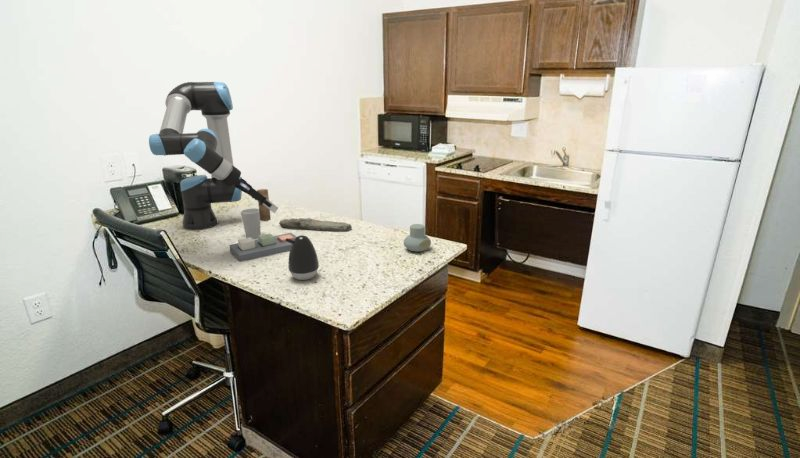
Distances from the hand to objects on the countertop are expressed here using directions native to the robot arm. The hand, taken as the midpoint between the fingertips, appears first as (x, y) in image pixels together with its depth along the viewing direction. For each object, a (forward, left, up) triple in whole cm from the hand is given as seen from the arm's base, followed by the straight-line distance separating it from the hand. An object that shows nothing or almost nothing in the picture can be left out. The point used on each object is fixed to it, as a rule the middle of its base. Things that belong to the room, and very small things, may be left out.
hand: (273, 209), depth 172 cm
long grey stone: (-14, +23, -17) cm, 32 cm away
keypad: (0, -4, -16) cm, 17 cm away
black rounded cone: (+34, -3, -16) cm, 38 cm away
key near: (0, -12, -14) cm, 18 cm away
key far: (0, +4, -16) cm, 16 cm away
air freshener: (+36, +45, -16) cm, 60 cm away
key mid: (0, -4, -14) cm, 14 cm away
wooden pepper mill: (0, -4, -4) cm, 5 cm away
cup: (-18, -4, -16) cm, 25 cm away
